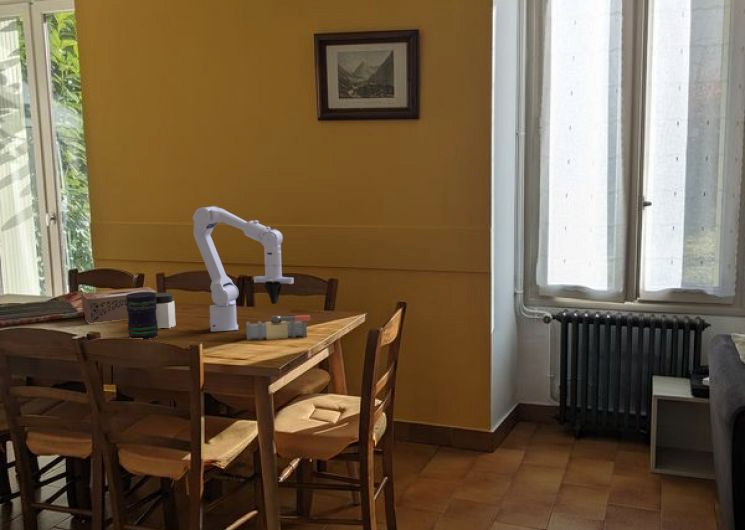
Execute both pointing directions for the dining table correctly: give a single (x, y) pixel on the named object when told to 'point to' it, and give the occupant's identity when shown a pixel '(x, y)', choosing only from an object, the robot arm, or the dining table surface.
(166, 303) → the jar
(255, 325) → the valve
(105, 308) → the tissue box cover
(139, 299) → the storage jar
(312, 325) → the dining table surface
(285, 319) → the lever
